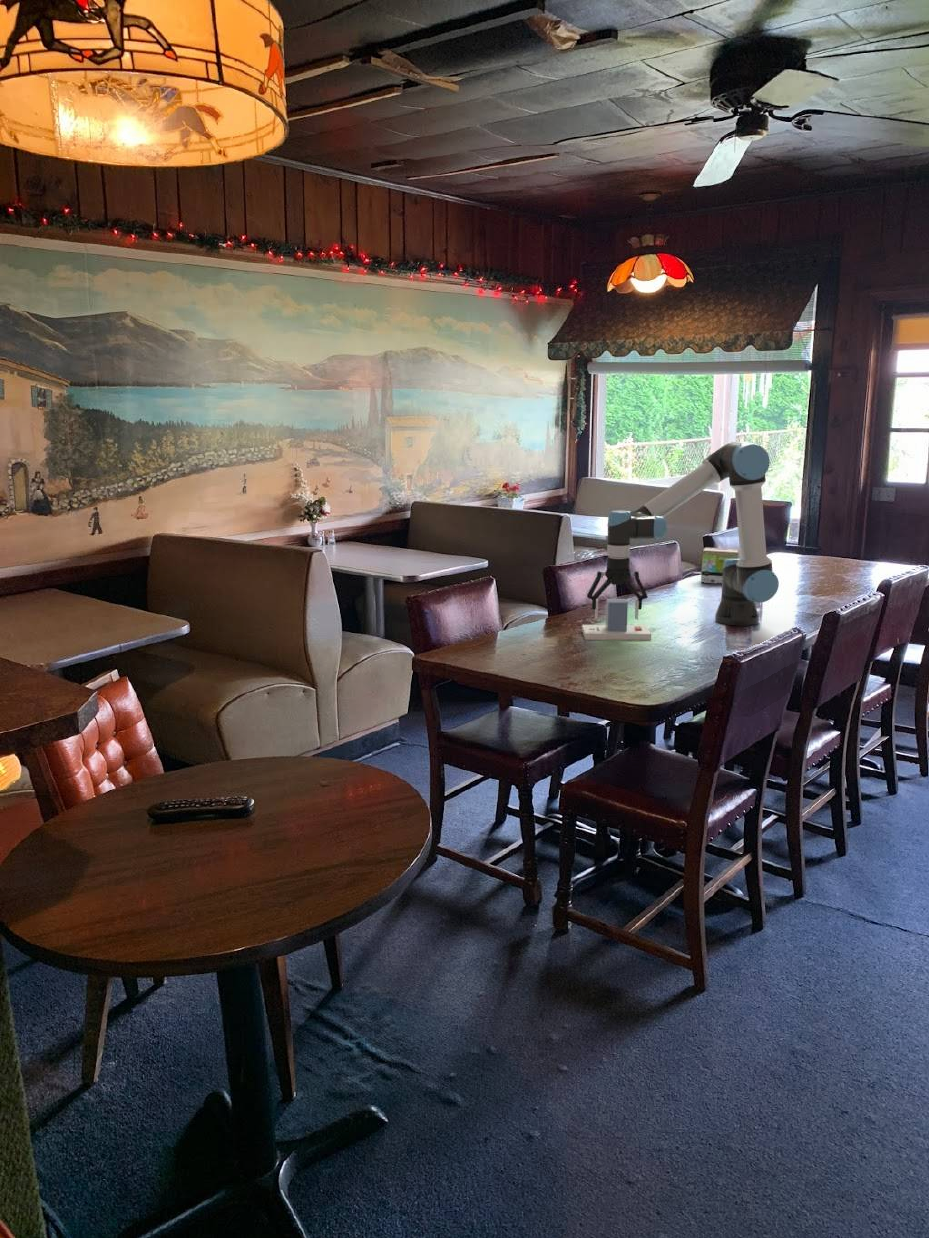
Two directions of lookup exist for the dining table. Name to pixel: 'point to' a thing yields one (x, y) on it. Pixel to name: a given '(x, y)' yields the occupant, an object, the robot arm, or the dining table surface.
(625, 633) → the socket plate
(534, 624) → the dining table surface
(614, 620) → the plug
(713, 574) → the tea box
